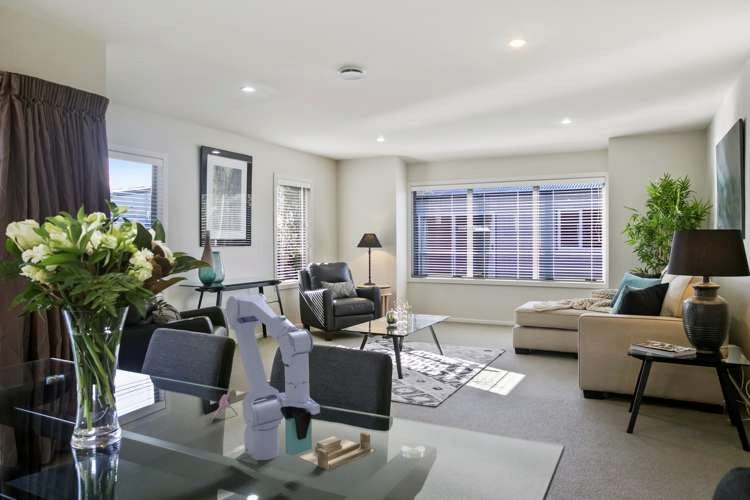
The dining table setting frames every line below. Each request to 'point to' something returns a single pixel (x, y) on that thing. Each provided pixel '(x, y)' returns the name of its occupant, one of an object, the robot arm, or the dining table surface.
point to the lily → (224, 403)
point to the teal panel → (291, 438)
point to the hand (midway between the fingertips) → (298, 436)
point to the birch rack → (340, 453)
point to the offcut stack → (329, 444)
